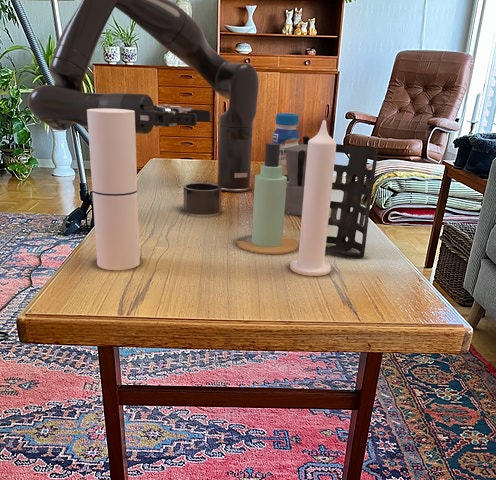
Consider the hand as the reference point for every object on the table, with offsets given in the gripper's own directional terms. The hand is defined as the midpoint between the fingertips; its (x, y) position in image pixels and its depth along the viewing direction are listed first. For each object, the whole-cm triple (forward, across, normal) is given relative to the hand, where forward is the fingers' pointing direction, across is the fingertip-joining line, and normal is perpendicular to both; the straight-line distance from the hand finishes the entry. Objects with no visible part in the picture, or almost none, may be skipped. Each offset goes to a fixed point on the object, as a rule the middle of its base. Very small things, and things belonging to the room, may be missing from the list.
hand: (203, 118), depth 103 cm
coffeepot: (+17, +24, +23) cm, 37 cm away
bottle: (+15, -4, +22) cm, 27 cm away
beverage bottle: (+6, +61, +23) cm, 65 cm away
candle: (+25, -16, +23) cm, 37 cm away
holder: (+29, -2, +23) cm, 37 cm away
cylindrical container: (-7, -24, +23) cm, 34 cm away
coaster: (+15, -4, +23) cm, 28 cm away
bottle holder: (-5, +15, +23) cm, 28 cm away
